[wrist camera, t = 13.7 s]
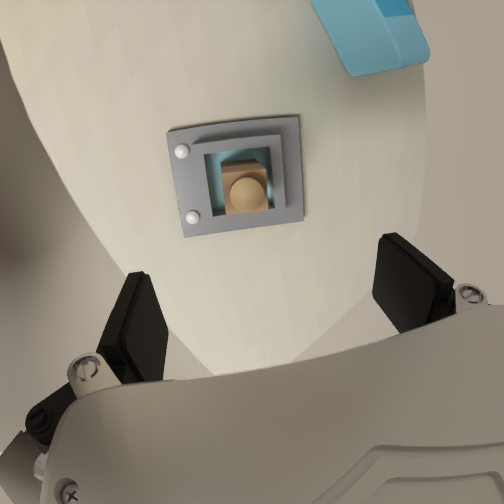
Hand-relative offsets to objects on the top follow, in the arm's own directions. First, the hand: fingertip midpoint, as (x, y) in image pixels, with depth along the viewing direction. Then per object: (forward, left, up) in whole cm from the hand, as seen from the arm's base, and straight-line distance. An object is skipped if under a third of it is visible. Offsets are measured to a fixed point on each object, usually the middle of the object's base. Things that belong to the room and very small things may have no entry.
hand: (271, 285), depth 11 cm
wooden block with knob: (+1, +1, -23) cm, 23 cm away
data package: (-17, +16, -25) cm, 34 cm away
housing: (+1, +1, -24) cm, 24 cm away
